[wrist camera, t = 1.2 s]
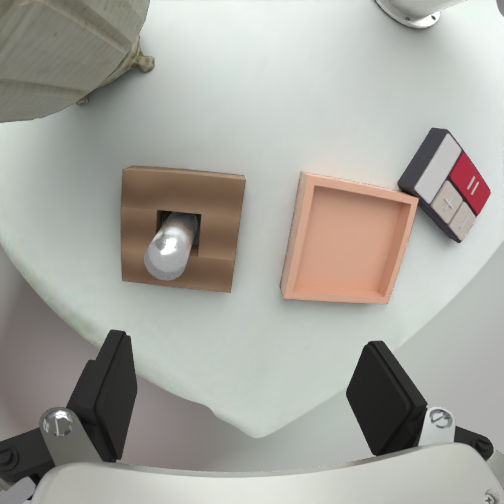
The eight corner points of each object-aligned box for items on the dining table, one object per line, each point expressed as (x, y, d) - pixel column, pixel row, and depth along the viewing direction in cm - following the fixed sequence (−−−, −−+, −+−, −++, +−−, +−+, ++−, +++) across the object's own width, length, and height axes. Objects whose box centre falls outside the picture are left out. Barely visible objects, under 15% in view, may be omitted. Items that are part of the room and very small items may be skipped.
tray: (300, 171, 37) (307, 175, 34) (405, 192, 39) (418, 198, 36) (279, 286, 43) (284, 298, 40) (378, 292, 45) (387, 304, 42)
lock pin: (168, 207, 38) (144, 238, 26) (199, 210, 38) (187, 242, 27) (166, 237, 39) (144, 277, 28) (196, 240, 39) (185, 282, 28)
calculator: (462, 246, 39) (412, 190, 35) (446, 236, 43) (395, 183, 39) (494, 192, 37) (450, 128, 32) (477, 186, 40) (431, 126, 36)
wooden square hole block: (132, 165, 35) (122, 169, 31) (243, 175, 37) (245, 180, 33) (130, 267, 40) (122, 280, 36) (230, 278, 42) (230, 292, 38)
